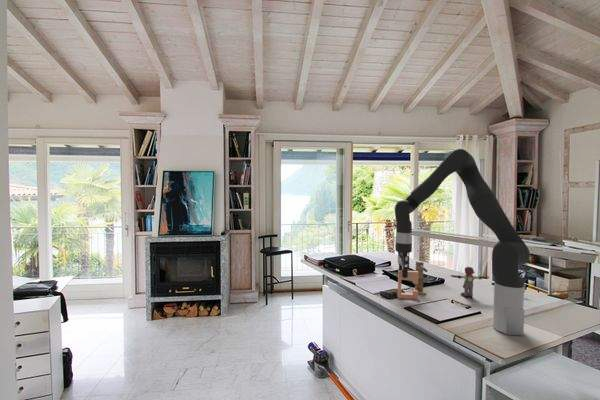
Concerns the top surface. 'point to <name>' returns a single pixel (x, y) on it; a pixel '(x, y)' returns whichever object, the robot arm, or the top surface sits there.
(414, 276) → the tan c-shaped block
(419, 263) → the stand
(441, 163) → the robot arm
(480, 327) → the top surface
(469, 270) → the toy
